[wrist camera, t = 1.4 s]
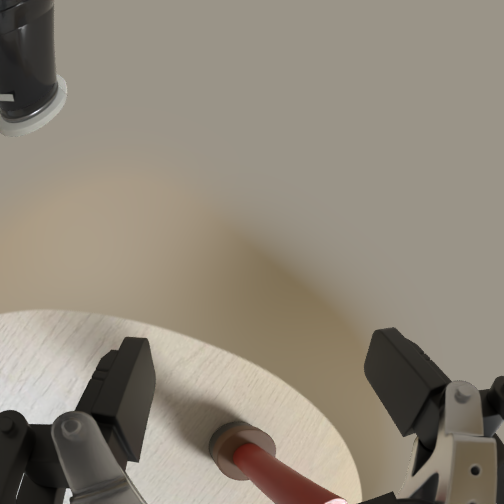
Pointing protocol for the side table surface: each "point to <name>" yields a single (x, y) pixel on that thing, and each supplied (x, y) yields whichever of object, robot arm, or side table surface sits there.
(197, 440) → the side table surface
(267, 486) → the red peg on stand
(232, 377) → the side table surface
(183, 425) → the side table surface
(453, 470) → the robot arm
